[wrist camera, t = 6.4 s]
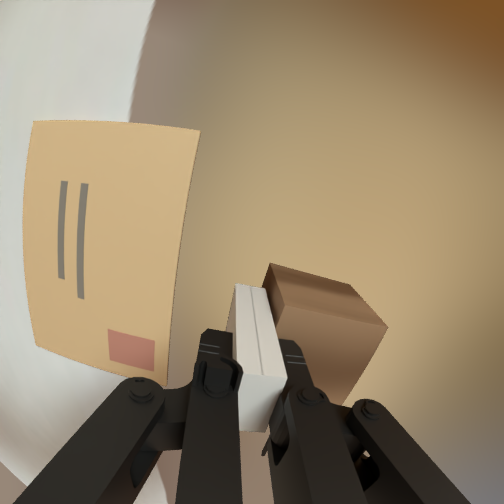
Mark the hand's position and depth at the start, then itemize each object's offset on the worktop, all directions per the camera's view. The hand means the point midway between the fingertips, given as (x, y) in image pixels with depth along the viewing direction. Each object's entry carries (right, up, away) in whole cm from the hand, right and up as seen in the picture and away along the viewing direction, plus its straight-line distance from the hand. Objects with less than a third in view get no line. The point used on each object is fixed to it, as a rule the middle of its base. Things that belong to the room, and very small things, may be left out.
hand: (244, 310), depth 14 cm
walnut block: (+3, -1, +2) cm, 4 cm away
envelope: (-9, +2, +1) cm, 9 cm away
